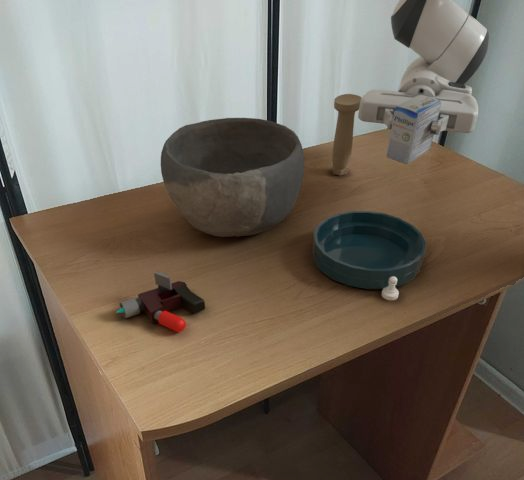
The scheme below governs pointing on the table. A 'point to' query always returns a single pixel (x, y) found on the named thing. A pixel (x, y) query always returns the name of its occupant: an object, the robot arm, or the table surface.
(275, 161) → the bowl
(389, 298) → the chess pawn
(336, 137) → the handle
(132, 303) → the toy gun
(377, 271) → the teal bowl
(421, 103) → the medicine box
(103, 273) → the table surface
